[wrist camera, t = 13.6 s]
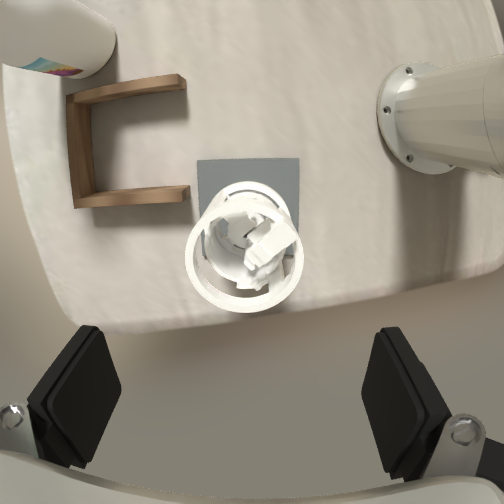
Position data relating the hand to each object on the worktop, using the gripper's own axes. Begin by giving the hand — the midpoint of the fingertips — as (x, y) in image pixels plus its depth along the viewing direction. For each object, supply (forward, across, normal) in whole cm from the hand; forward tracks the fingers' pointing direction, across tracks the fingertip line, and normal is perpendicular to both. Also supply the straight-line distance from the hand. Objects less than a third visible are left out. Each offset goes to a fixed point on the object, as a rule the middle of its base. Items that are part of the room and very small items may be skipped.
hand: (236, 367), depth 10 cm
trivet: (+24, 0, 0) cm, 24 cm away
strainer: (+23, 0, 0) cm, 23 cm away
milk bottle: (+24, +18, -19) cm, 36 cm away
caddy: (+24, +12, -7) cm, 28 cm away
